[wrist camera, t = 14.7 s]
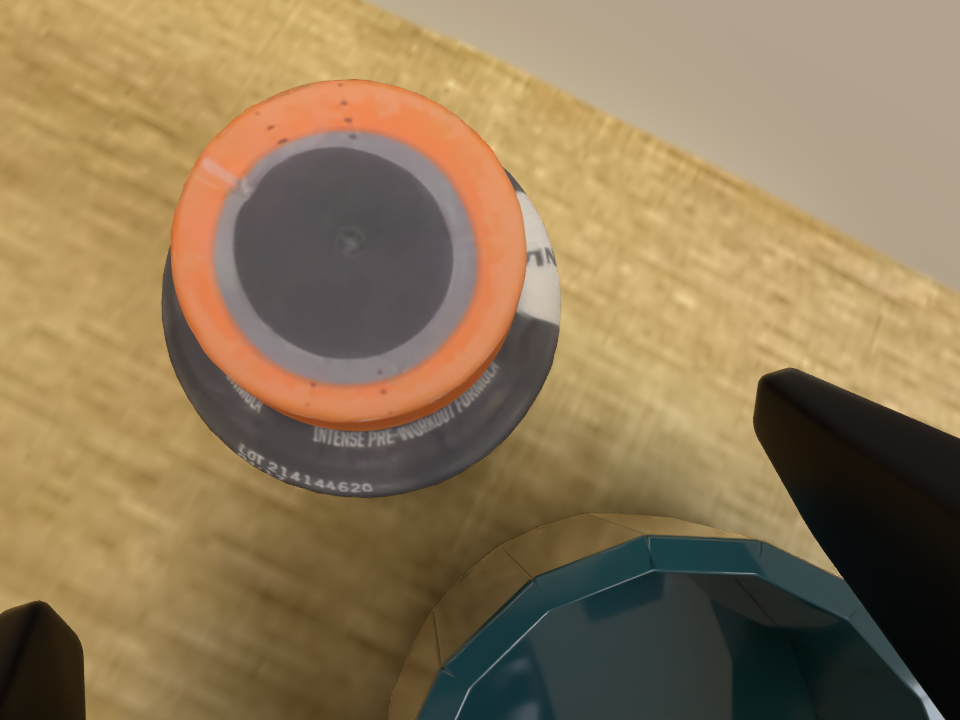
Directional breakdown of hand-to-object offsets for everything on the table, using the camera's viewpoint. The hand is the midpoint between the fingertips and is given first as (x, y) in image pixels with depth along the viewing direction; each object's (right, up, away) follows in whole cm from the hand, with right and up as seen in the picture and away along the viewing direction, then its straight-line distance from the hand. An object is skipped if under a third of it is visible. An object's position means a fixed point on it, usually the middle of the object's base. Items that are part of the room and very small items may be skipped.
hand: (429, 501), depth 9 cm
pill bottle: (-2, +2, +10) cm, 11 cm away
